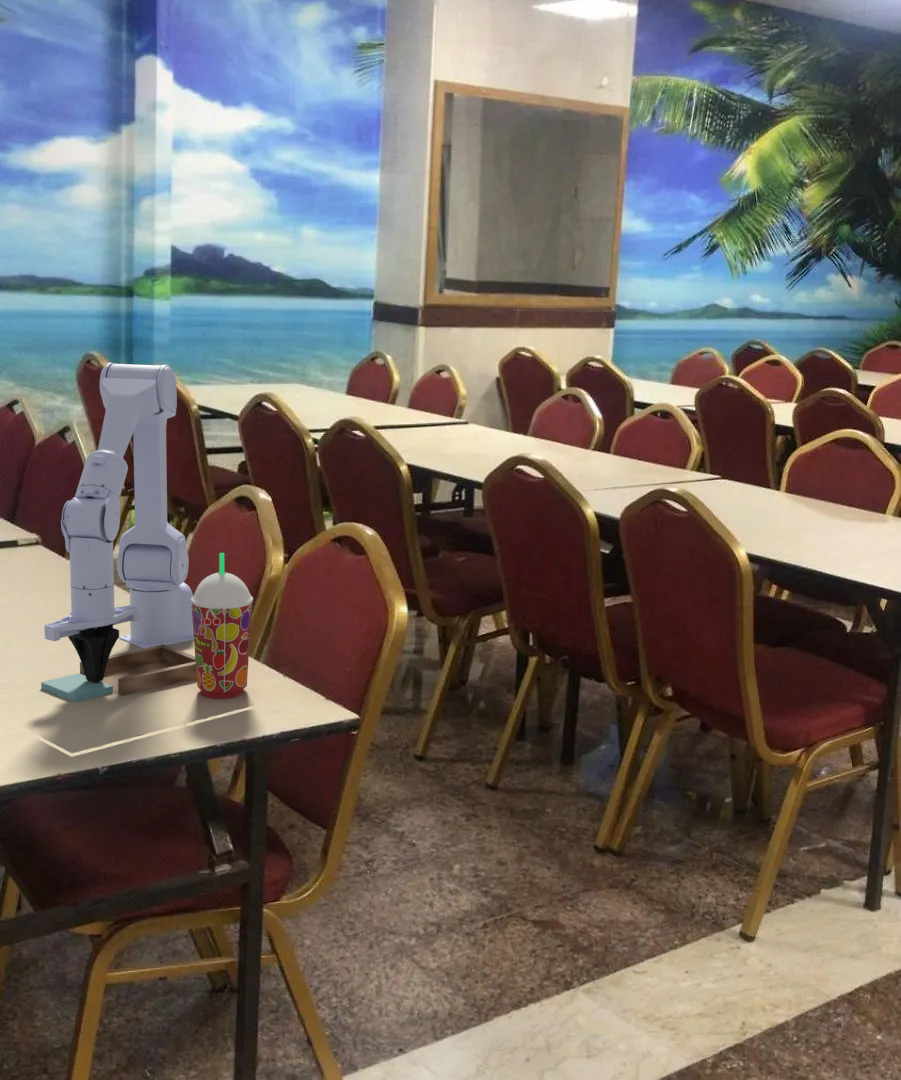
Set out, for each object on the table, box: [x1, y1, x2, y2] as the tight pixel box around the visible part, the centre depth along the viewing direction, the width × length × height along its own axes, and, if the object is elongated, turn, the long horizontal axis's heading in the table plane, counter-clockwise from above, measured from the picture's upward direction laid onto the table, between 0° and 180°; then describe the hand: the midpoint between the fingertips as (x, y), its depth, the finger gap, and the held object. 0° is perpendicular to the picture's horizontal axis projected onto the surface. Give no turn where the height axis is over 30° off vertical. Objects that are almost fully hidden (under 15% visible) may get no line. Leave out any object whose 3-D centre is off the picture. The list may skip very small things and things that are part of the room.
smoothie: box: [191, 552, 254, 700], centre depth 182 cm, size 8×8×20 cm
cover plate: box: [40, 672, 114, 703], centre depth 182 cm, size 6×8×2 cm
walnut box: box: [79, 645, 197, 696], centre depth 189 cm, size 14×11×2 cm
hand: (94, 680), depth 184 cm, fingers closed
